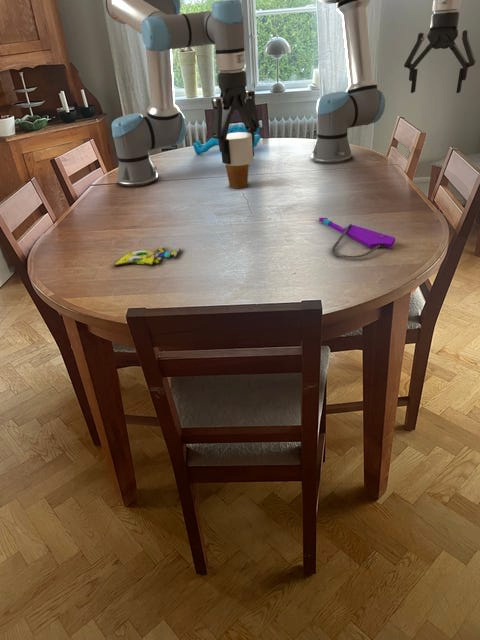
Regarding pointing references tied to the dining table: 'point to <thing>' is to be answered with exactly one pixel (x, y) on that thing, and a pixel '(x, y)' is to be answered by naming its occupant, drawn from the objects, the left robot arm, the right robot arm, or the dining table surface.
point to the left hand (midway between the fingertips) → (238, 159)
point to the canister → (240, 148)
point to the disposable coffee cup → (237, 176)
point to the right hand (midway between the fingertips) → (435, 92)
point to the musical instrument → (361, 237)
